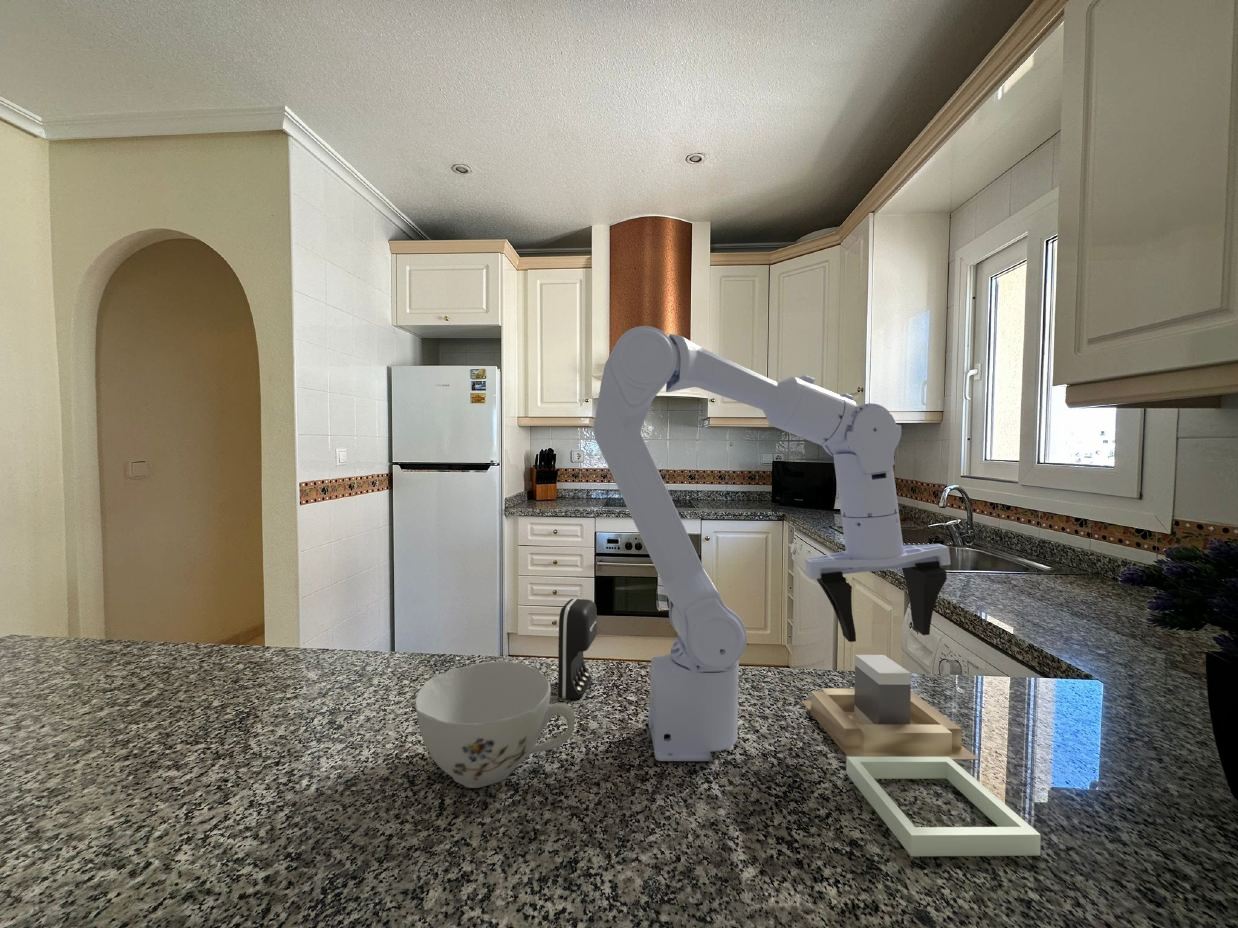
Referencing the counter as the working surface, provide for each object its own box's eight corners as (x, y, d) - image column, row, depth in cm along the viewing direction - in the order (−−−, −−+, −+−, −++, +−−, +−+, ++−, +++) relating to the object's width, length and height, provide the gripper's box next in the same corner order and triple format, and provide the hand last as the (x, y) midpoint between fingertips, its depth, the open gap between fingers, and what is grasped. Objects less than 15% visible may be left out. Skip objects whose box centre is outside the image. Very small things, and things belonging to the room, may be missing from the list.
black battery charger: (586, 703, 61) (587, 610, 61) (556, 700, 61) (558, 608, 61) (598, 679, 68) (599, 596, 68) (571, 676, 68) (572, 594, 68)
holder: (849, 769, 48) (850, 738, 48) (801, 708, 60) (801, 684, 60) (979, 769, 49) (979, 738, 49) (905, 708, 61) (905, 684, 61)
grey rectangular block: (878, 739, 52) (879, 672, 52) (854, 715, 57) (855, 654, 57) (909, 739, 52) (911, 673, 52) (883, 715, 57) (884, 654, 57)
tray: (911, 868, 36) (911, 835, 36) (846, 783, 46) (846, 756, 46) (1040, 867, 37) (1040, 834, 37) (948, 782, 47) (948, 756, 47)
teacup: (384, 808, 42) (386, 714, 42) (449, 729, 54) (450, 657, 54) (558, 824, 40) (560, 726, 40) (584, 739, 53) (585, 665, 53)
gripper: (920, 501, 58) (935, 616, 58) (793, 516, 59) (808, 628, 59) (954, 508, 51) (971, 639, 51) (809, 525, 52) (826, 652, 52)
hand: (885, 635), depth 55 cm, fingers open, 7 cm apart
